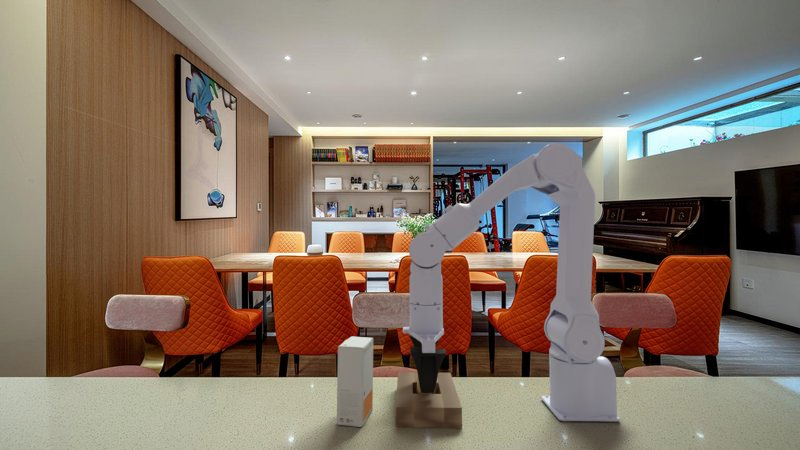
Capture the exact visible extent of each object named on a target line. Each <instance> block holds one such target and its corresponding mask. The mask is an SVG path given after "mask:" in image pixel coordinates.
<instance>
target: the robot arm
mask: <svg viewBox="0 0 800 450" xmlns="http://www.w3.org/2000/svg"><path fill="white" fill-rule="evenodd" d="M529 188H531V189H533V190H535V191H538V192H540V193H542V194H545V195H547V197H549V198H550V199H551V200H552V201H553V202H555V203H556V204H557V205H558V206H559V221H558V223H559V224H558V225H559V226H558V243H557V244H558V247H557V265H556V266H557V268H556V270H557V272H556V288H555V289H556V292H555V294H556V295H555V296H554V298H553V300H552V301H551V302H550V310H549V314H548V315H547V317H546V319H545V322H544V323H543V324H544V325H543V329H544V330H543V331H544V333H545V336H546V338H547V339H548V341H550V348H549V349H548V351H549V355H548V356H549V357H548V358H549V360H548V362H549V395H541V396H540V399H541V401H542V402H543V403H544V404H545V405H546V406H547V407H548V409H550V411H551V412H552V414H553V415H554V416H555V417H556V418H557V419H558V420H559V421H561V422H620V421H621V418H620V417H619V416H618V405H617V403H618V401H617V398H618V397H617V395H618V394H617V393H618V392H617V376H616V372H615V370H614V369H615V368H614V367H613V364H612V363H611V361H610V360H609V359H608V358H607V357H606V356H602V353H603V352H604V350H605V346H606V345H605V343H606V341H605V336H604V334H603V331H602V330H601V326H600V315H599V313H598V311H597V309H596V307H595V305H594V303H593V301H592V281H593V260H594V259H593V254H594V236H595V235H594V232H595V231H594V230H595V206H596V196H595V195H596V193H595V190H594V188H593V186H592V184H591V182H590V181H589V178H588V176H587V174H586V172H585V170H584V169H583V157H582V156H581V155H580V154H578V152H576V151H574V150H573V149H572V148H571V147H570V146H568V145H566V144H563V143H560V142H554V143H549V144H547V145H545V146H543V148H541V149H540V150H539V152H537V153H534V154H532V155H530V156H529V157H527V158H525V159H523V160H522V161H520V162H519V163H517V164H515V165H513V166H512V167H511V168H509V169H508V170H507V171H506V172H504V173H503V174H501V176H500V177H498V178H497V179H496V180H495V181H493V183H491V184H490V185H489V186H488V187H486V188H485V189H484V190H483V191H482V192H481V193H480V194H479V195H477V196H476V197H475V198H474V199H473V200H471V201H470V202H469V203H461V202H460V203H459V202H457V203H456V204H455V205H451V204H449V205H448V206H447V207H446V208H444V212H445V213H444V214H442V215H441V216H439V217H438V218H437V219H436V220H435V221H433V222H432V223H431V224H428V223H427V224H425V226H423V229H424V230H425V231H424V232H419V233H416V236H415V237H414V238H413V239H412V240H411V242H410V244H409V249H408V252H409V253H408V254H409V256H410V258H411V260H412V261H411V263H410V266H409V270H410V275H409V326H403V327H402V333H403V334H405V335H406V334H409V338H410V340H411V343H412V345H413V346H410V347H409V352H410V355H411V357H412V360H413V362H414V364H415V368H416V372H417V373H418V379H419V385H420V390H421V393H434V391H435V387H436V382H437V377H438V373H440V372H439V371H440V368H441V366H442V362H443V360H444V359H445V357H446V354H447V352H446V348H443V349H442V348H441V349H439V348H438V349H437V346H438V343H439V341H440V339H441V337H442V336H443V335H444V334H445V329H444V322H443V321H444V320H443V319H444V318H443V317H444V314H443V313H444V312H443V311H444V308H443V306H444V304H443V302H444V300H443V299H444V297H443V292H444V290H443V288H444V287H443V282H444V281H443V276H442V261H443V259H444V257H445V253H446V252H451V251H453V250H454V249H455V248H456V247H458V246H459V245H460V244H461V243H463V242H464V241H465V240H466V239H467V238H469V237H471V236H472V234H473V233H475V232H476V231H478V229H479V227H480V226H479V225H480V219H481V218H482V216H484V215H485V214H486V213H488V212H489V211H490V210H492V209H493V208H494V207H495V206H497V205H498V204H500V203H501V202H502V201H503V200H505V199H506V198H508V197H509V196H510V195H511V194H512V193H514V192H515V191H521V190H522V191H523V190H526V189H529Z"/></svg>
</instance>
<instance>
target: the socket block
mask: <svg viewBox="0 0 800 450" xmlns="http://www.w3.org/2000/svg"><path fill="white" fill-rule="evenodd" d="M396 381H397V382H396V383H397V384H396V398H395V399H396V400H395V428H411V429H412V428H414V429H417V428H421V429H422V428H424V429H425V428H426V429H428V428H431V429H433V428H435V429H437V428H438V429H446V428H447V429H462V428H463V407H462V404H461V400H460V398H459V395H458V393H457V389H456V386H455V382H454V380H453V377H452V374H451V372H438V377H437V382H436V389H435V394H417V371H416V372H410V371H409V372H407V371H406V372H403V371H402V372H397V380H396Z"/></svg>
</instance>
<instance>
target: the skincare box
mask: <svg viewBox="0 0 800 450" xmlns="http://www.w3.org/2000/svg"><path fill="white" fill-rule="evenodd" d="M336 381H337V382H336V383H337V389H336V390H337V391H336V425H339V426H345V427H346V426H348V427H357V428H362V427H363V426H364V424H365V422H366V420H367V418H368V417H369V415H370V414H371V412H372V411H373V403H374V402H373V396H374V394H373V392H374V389H373V388H374V337H366V336H365V337H364V336H354V335H353V336H350V337H349V338H347V339H345V340H344V341H343V342H342V343H341V344H340V345H338V346H337V380H336Z"/></svg>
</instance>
